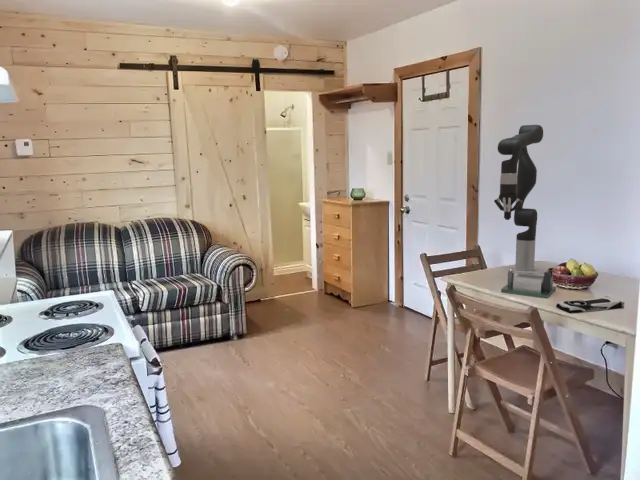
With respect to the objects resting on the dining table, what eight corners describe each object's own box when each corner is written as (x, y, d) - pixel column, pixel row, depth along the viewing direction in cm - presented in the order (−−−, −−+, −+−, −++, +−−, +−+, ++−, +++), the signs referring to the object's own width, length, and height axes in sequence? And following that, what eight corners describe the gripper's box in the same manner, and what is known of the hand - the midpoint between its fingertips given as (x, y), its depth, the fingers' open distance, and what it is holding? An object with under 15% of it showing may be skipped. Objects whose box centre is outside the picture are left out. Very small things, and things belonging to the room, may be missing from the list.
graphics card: (624, 301, 218) (570, 306, 213) (624, 309, 219) (569, 315, 213) (606, 295, 228) (553, 299, 222) (606, 302, 228) (553, 307, 223)
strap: (508, 273, 249) (508, 269, 249) (510, 272, 251) (510, 268, 251) (547, 274, 240) (547, 271, 239) (548, 273, 242) (548, 270, 241)
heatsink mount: (501, 292, 246) (501, 270, 244) (510, 284, 259) (511, 264, 257) (547, 298, 235) (548, 275, 233) (555, 289, 248) (556, 268, 246)
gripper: (525, 182, 252) (523, 219, 255) (496, 182, 260) (495, 217, 263) (521, 183, 246) (519, 221, 249) (491, 183, 254) (490, 219, 257)
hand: (507, 219), depth 256 cm, fingers closed
